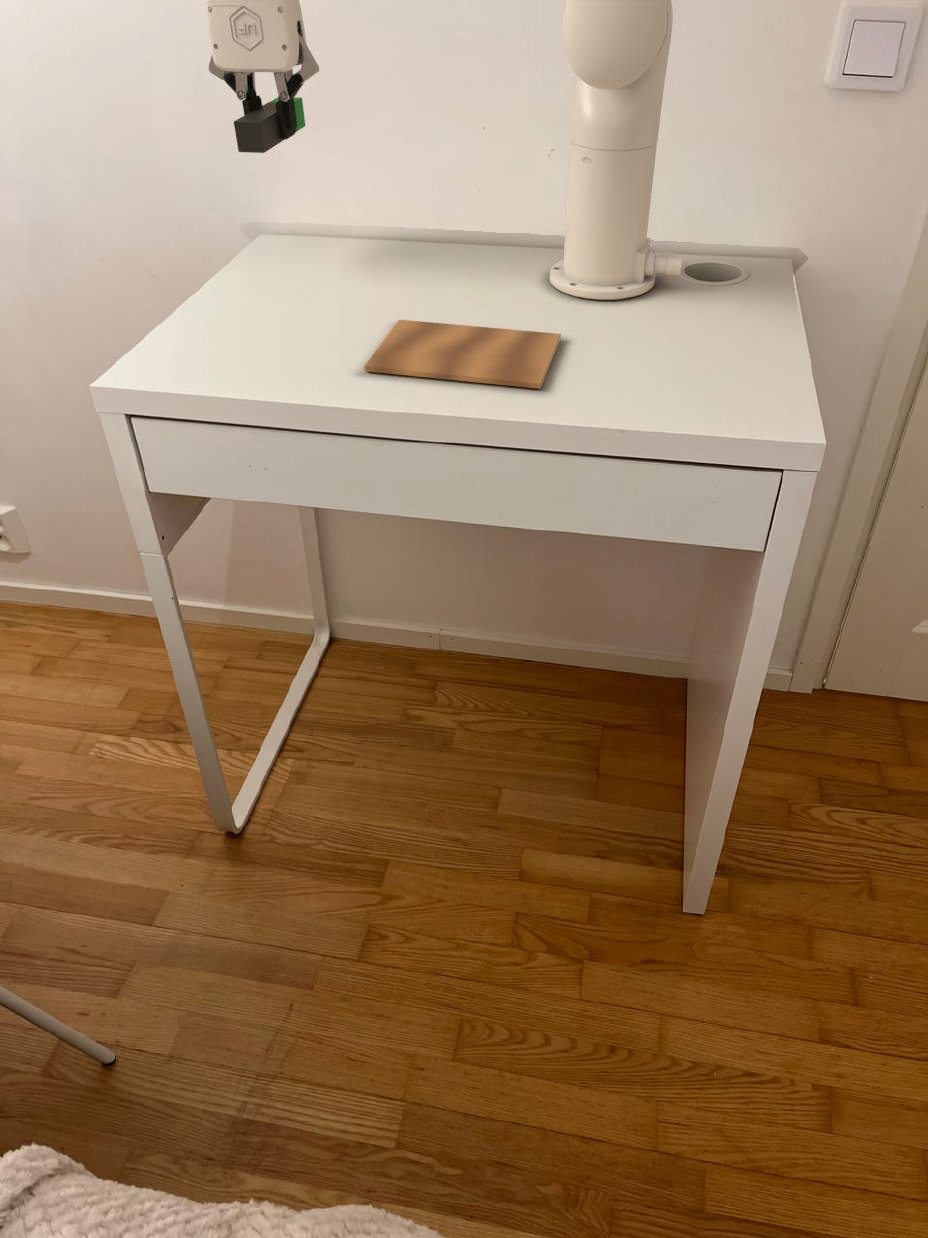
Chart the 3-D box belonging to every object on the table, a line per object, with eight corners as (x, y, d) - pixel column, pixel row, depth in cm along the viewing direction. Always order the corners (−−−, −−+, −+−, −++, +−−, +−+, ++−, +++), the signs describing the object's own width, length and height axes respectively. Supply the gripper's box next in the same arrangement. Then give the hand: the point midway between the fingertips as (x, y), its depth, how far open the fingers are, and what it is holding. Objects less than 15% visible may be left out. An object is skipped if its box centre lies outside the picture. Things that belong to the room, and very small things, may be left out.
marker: (264, 152, 107) (259, 121, 105) (238, 151, 108) (233, 121, 106) (305, 125, 117) (302, 97, 115) (281, 125, 117) (278, 96, 115)
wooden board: (560, 338, 100) (561, 333, 100) (540, 388, 91) (540, 383, 91) (399, 324, 103) (399, 319, 103) (364, 371, 94) (364, 365, 94)
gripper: (160, -49, 99) (196, 141, 111) (305, -50, 96) (326, 146, 108) (192, -55, 105) (223, 126, 116) (330, -57, 101) (348, 130, 113)
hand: (272, 134), depth 112 cm, fingers closed on marker, 3 cm apart
